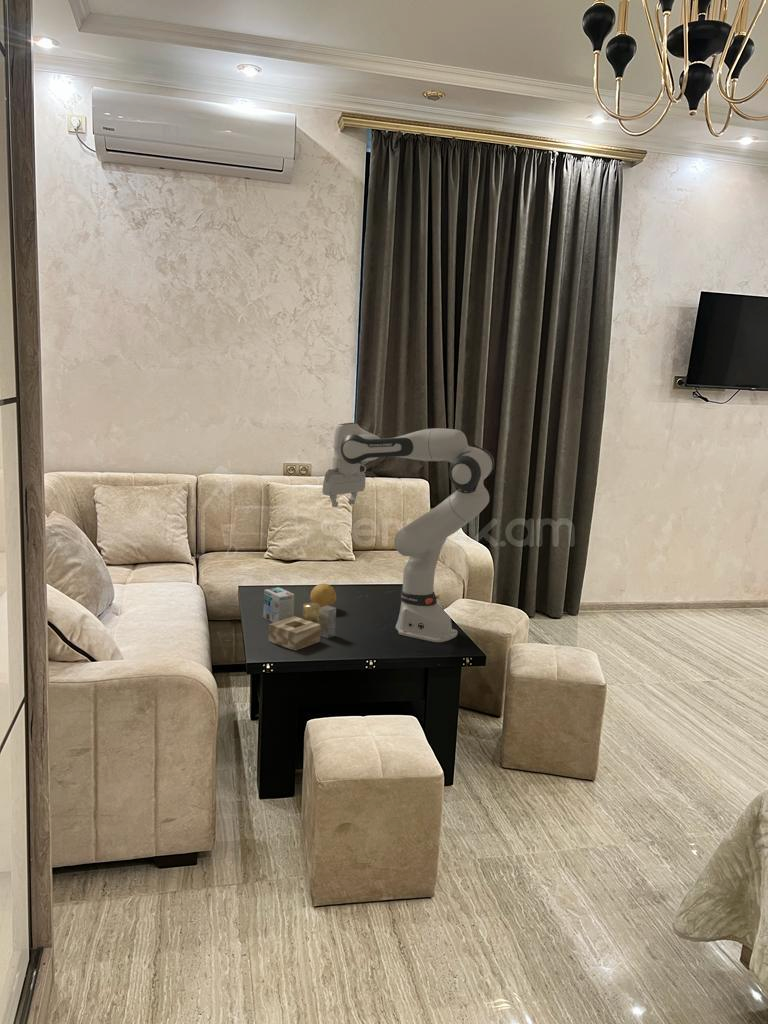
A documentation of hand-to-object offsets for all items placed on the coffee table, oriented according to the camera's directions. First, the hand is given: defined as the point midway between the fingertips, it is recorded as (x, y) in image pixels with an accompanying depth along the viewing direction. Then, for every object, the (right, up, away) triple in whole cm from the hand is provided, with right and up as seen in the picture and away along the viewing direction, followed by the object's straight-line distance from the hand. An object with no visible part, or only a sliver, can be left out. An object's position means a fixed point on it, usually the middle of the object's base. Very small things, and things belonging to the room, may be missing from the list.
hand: (343, 505), depth 275 cm
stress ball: (-9, -40, +14) cm, 43 cm away
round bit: (-11, -43, -6) cm, 45 cm away
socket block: (-15, -46, -21) cm, 53 cm away
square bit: (-5, -45, -14) cm, 47 cm away
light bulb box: (-23, -42, -1) cm, 48 cm away
